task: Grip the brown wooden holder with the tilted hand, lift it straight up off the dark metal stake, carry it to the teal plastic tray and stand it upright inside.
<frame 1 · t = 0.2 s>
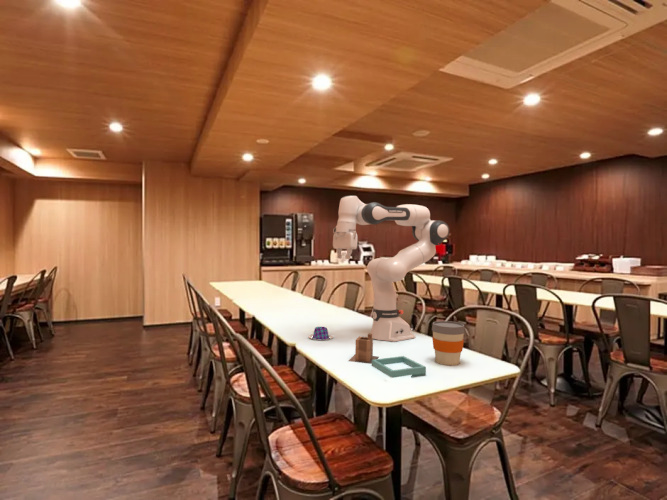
hand: (343, 258, 182), 39 cm above the table, fingers open, 8 cm apart
reusable coffee cup: (447, 362, 154), on the table
tray: (398, 371, 141), on the table
purple plaid hat: (320, 338, 189), on the table
brown wooden holder: (364, 358, 152), point 1 cm above the table, touching stake
stake: (364, 361, 152), on the table
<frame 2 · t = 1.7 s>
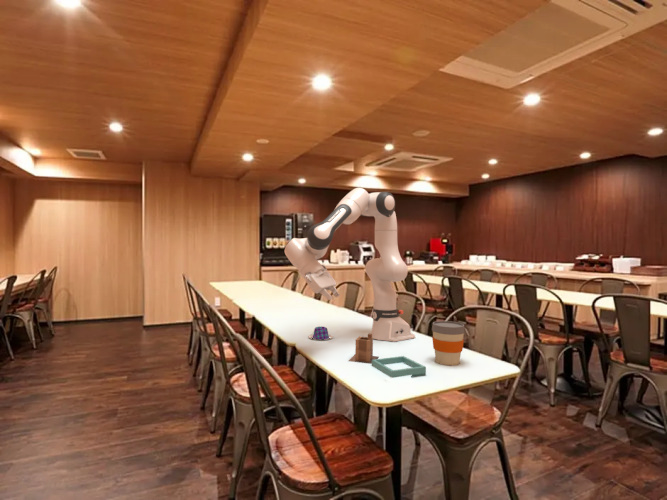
hand: (334, 297, 156), 24 cm above the table, fingers open, 8 cm apart
nothing on the table moved.
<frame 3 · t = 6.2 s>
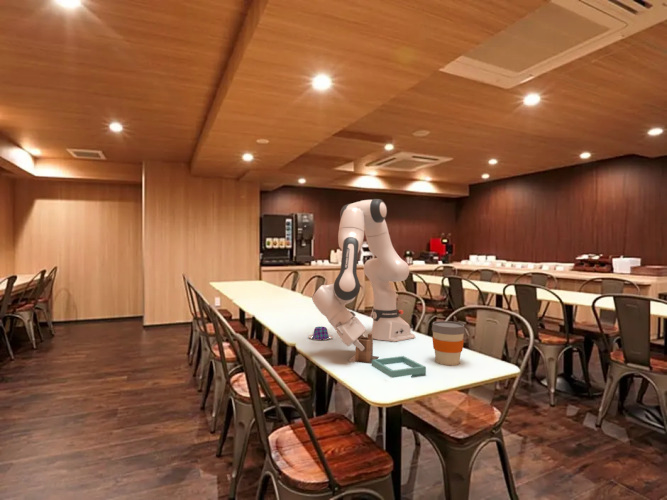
hand: (365, 347, 152), 6 cm above the table, fingers closed on brown wooden holder, 6 cm apart
brown wooden holder: (364, 358, 152), point 1 cm above the table, touching gripper, stake
everything else where it was.
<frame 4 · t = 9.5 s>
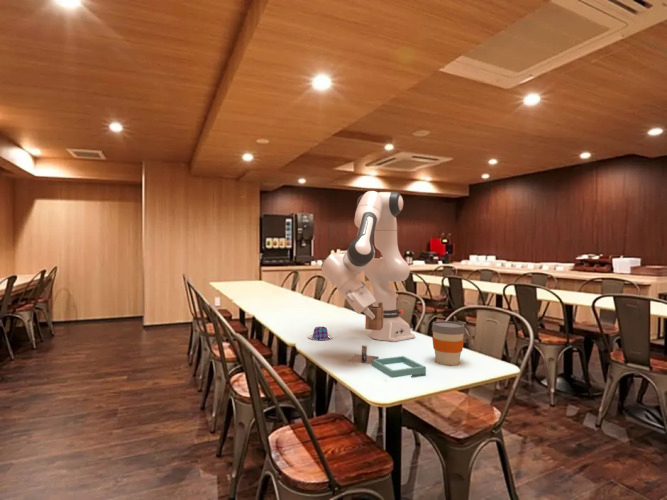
hand: (376, 316, 148), 19 cm above the table, fingers closed on brown wooden holder, 6 cm apart
brown wooden holder: (374, 328, 148), point 14 cm above the table, touching gripper
everything else where it was.
when the fingers open (7 cm above the table, at t = 13.1 s): brown wooden holder drops 1 cm, resting on tray.
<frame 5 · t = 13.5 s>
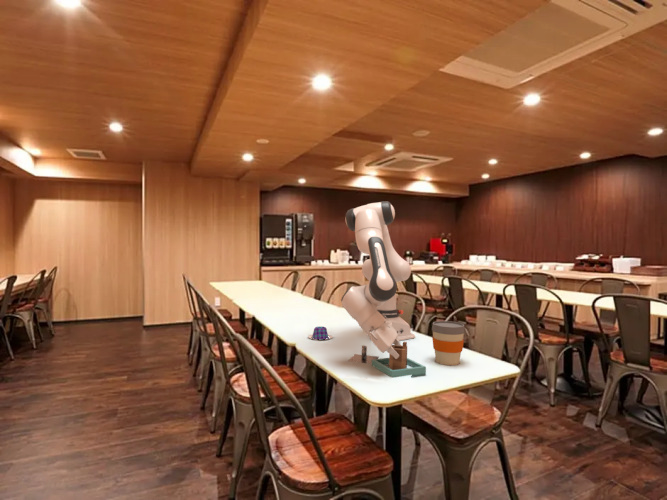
hand: (400, 353, 141), 7 cm above the table, fingers open, 8 cm apart
brown wooden holder: (398, 369, 141), point 1 cm above the table, touching tray
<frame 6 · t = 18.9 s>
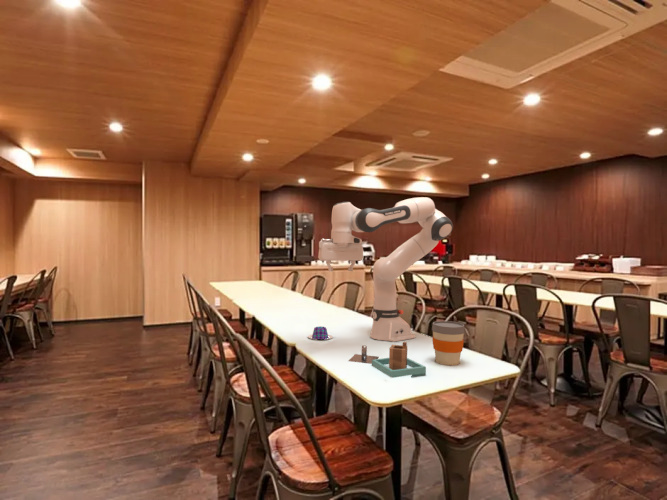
hand: (340, 271, 168), 34 cm above the table, fingers open, 8 cm apart
at the end: brown wooden holder inside the target area on the tray (0.1 cm from its centre), point 0.8 cm above the tray's base; brown wooden holder tilted 0°; the gripper is holding nothing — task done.
